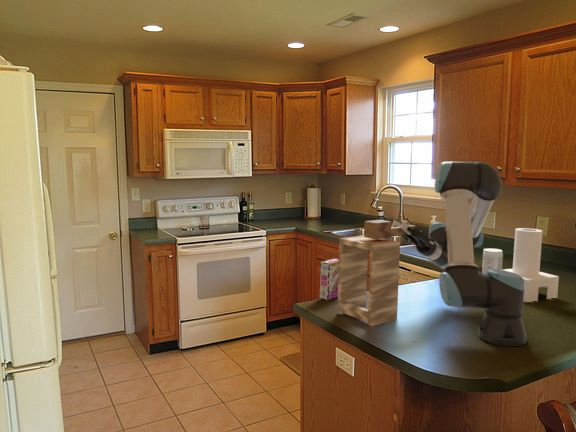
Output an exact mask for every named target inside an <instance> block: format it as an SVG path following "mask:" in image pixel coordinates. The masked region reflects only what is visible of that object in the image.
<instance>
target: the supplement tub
mask: <svg viewBox="0 0 576 432" xmlns="http://www.w3.org/2000/svg"><path fill="white" fill-rule="evenodd" d="M503 251H504V250H502V249H499V248H488V247H487V248H483V252H482V263H481V264H482V266H481V268H482V270H481V274H487V271H488V270H489V269H499V270H503V260H504V253H503Z"/></svg>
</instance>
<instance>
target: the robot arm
mask: <svg viewBox="0 0 576 432" xmlns="http://www.w3.org/2000/svg"><path fill="white" fill-rule="evenodd" d="M434 181H435V182H434V192H436V193H437V194H439V196H440V200H442V201H443V202H444V211H445V223H443V222H435V223H432V224H430V226H429V227H428V236H427V235H426V233H424V232H422V231H421V230H417V229H418V228H417V227H414V229H413V228H412V227H410V226H409V225H410V224H408V222H407V223H406V221H404V220H403V221H401V223H400V222H399V221H397V220H396V219H393V222H392V223H391V227H393V226H400V228H401V229H403V230H404V231H405V232H406V233H408V234H406V235H399V237H401V239H403V240H404V241H405V242H406V243H409V242H410V243H412V244H413V246H415V248H416V250H417V252H418V253H419V254H421V255H422V256H424V257H425V258H426V259H427V261H430V262H431V263H432V264H434V265H435V266H436V267H438V268H440V269H443V271H442V272H441V273H440V274H439V278H438V280H439V283H438V285H439V292H440V295H441V299H442V301H443V302H444V304H445V305H446V306H448V307H453V308H459V309H460V308H472V309H474V308H476V309H484V315H483V317H482V319H481V322H480V324H479V326H478V327H477V328H478V329H477V335H478V338H479V339H481V340H483V341H485V342H487V343H490V344H494V345H497V346H504V347H518V346H519V347H520V346H523V345H525V344H527V343H526V342H527V333H526V329H525V325H524V321H523V306H524V302H523V298H524V291H525V290H524V279H523V278H522V277H521V276H520V275H518V274H515V273H512V272H509V271H504V270H505V269H502V270H499V269H489V270H488V271H487V274H482V273H480V266H478V265H477V264H476V263H475V257H474V256H475V255H474V247H482V245H483V242H484V232H483V230H482V228H483V227H484V225H485V222H486V220H487V217H488V215H489V213H490V211H491V208H492V206H493V204H494V202H495V201H496V200H497V199H498V198H499V197H500V195H501V193H502V189H503V179H502V176H501V175H500V172H499V171H498V170H497V169H496V168H495V167H494V166H493V164H490V163H487V162H484V161H453V160H451V161H443V162H440V163H439V165H438V168H437V171H436V176H435V180H434ZM471 199H472V200H471ZM470 200H471V202H470Z"/></svg>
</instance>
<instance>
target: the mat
mask: <svg viewBox="0 0 576 432" xmlns="http://www.w3.org/2000/svg"><path fill="white" fill-rule="evenodd" d="M387 239H388V238H383V239H366V240H360V241H361V242H366V243H371V244H383V243H390V242H395V241H396V240H393V239H388V240H387Z"/></svg>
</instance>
